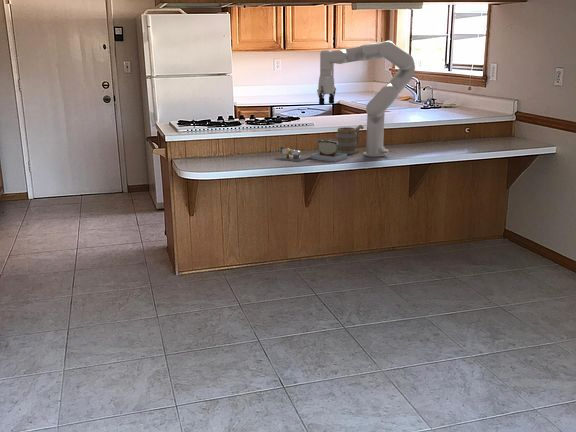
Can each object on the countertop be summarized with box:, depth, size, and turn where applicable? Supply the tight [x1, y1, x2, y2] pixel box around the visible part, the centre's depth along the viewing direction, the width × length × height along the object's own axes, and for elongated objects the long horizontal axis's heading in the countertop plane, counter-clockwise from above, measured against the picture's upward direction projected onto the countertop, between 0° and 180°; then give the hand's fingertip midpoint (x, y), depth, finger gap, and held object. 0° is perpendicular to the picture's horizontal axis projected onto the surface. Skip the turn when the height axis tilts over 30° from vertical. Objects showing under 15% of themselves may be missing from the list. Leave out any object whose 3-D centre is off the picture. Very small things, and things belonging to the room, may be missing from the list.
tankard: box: [336, 124, 364, 155], centre depth 353 cm, size 20×13×15 cm, turn 126°
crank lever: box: [279, 146, 301, 157], centre depth 336 cm, size 13×4×5 cm, turn 58°
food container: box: [317, 138, 338, 157], centre depth 333 cm, size 12×6×10 cm, turn 59°
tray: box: [310, 151, 348, 163], centre depth 334 cm, size 16×12×2 cm
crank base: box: [281, 147, 312, 163], centre depth 334 cm, size 13×12×6 cm
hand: (326, 104), depth 342 cm, fingers open, 9 cm apart
